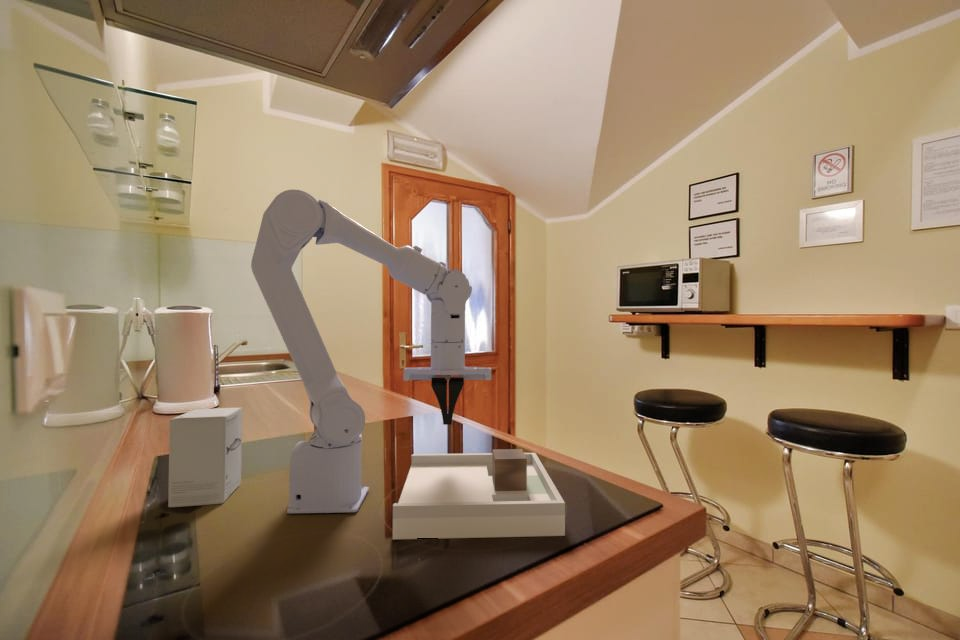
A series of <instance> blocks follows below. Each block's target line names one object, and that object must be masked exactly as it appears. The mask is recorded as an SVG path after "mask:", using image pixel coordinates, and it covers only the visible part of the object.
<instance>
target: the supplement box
mask: <svg viewBox="0 0 960 640" xmlns="http://www.w3.org/2000/svg"><path fill="white" fill-rule="evenodd" d="M242 425H243V407H217V408H215V407H213V408H199V409H192V410H190V411H187V412H185V413H183V414H180V415H178V416H175V417H173V418H170V419H169V442H168V443H169V447H168V449H169V450H168V451H169V453H168V491H167V493H168V496H167V497H168V498H167V499H168V500H167V502H168V504H167V508H182V507H194V506H196V507H197V506H207V505H220V504H224V503H225V502H226V500H227V499H228V498H229V497H230V496H231V495H232V493H234V491H235V490H237V488H239V487H240V486H241V484H242V450H243V449H242V447H243V445H242V444H243V443H242V440H243V439H242V438H243V437H242V436H243V435H242V434H243V433H242V431H243V430H242V429H243V428H242V427H243V426H242Z"/></svg>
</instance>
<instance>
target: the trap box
mask: <svg viewBox="0 0 960 640" xmlns="http://www.w3.org/2000/svg"><path fill="white" fill-rule="evenodd" d="M524 454H525V456H526V458H527V491H495V489H494V485H493V480H492V452H480V453H478V452H477V453H476V452H475V453H468V452H467V453H418V454H417V453H413V454H411V465H410V468H409V470H408V474H407V476H406V480H405V483H404V485H403V488H402V490H401V493H400V497H399V499H398V502H395V503H393V504H392V540H418V539H417V538H438V539H471V538H472V539H473V538H478V539H479V538H484V539H485V538H517V537H518V538H520V537H525V538H526V537H563V536H564V537H565V536H566V502H565V500H564V499H563V497H562V496H561V494H560V492H559V490H558V488H557V487H556V485H555V483H554V482H553V480H552V478H551V477H550V475H549V474H548V471H547V470H546V468H545V467H544V465H543V463H542V462H541V460H540V458H539V456H538V455H537V453H536V452H524Z"/></svg>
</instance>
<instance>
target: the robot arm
mask: <svg viewBox="0 0 960 640" xmlns="http://www.w3.org/2000/svg"><path fill="white" fill-rule="evenodd" d="M313 238H316V240H315V245H317V246H318V245H327V244H329V245H330V244H339V245H342V246H344V247H346V248H348V249H351V250H353V251H354V252H356V253H359V254H361V255H363V256H364V257H366V258H369V259H371V260H373V261H376V262H378V263H380V264H382V265H383V266H386V268H387V272H388V273H389V275H390V277H391V278H392V279H393V280H396V281H397V282H399V283H401V284H403V285H405V286H407V287H409V288H411V289H413V290H415V291H417V292H418V293H420V294H423V295H425V296H426V298H427V300H428V301H429V302H430V308H431V309H430V312H431V313H430V366H422V367H419V366H418V367H405V368H403V381H406V382H407V381H430V380H431V384H430V385H431V388H432V390H433V392H434V396H435V397H436V400H437V403H438V406H439V408H440V413H441V415H442V425H445V426H448V425H453V423H452V422H453V415H454V411H455V407H456V404H457V402H458V398H459V396H460V394H461V391H462V390H463V387H464V382H465V380H466V381H468V380H470V381H471V380H473V381H474V380H476V381H477V380H483V381H492V368H491V367H481V366H480V367H476V366H475V367H473V366H466V364H465V363H466V359H465V355H466V305H467V304H466V303H467V301H468V300H469V299H470V297H471V294H472V291H473V287H472V286H471V285H470V282H469V279H468V278H467V276H466V275H465V273H463V272H462V271H461V270H458V269H447V264H446V263H445V262H442V261H440V262H438V261H436V260H435V259H433V258H430V257H429V256H427V255H426V254H424V253H422V251H423V248H421V247H419V246H417V245H414V246H413V247H412V246H410V245H403V246H400V247H396V246H394V245H393V244H392V243H390V242H389V241H386V240H385V239H383V238H382V237H380V236H379V235H377V234H375V233H374V232H372V231H371V230H369V229H367V228H366V227H364V226H363V225H361V224H360V223H358V222H357V221H355V220H354V219H352V218H350V217H348V216H347V215H345V214H344V213H342V212H341V211H340V210H338V209H336V208H335V207H334V206H333V205H331V204H330V203H329V202H327V201H325V200H324V201H323V200H322V199H318V201H317V199H316V198H315V197H314V196H313V195H311V194H310V193H309V192H306V191H305V190H300V189H287V190H284V191H282V192H280V193H279V194H277V195H276V196H275V197H274V198H273V200H272V201H271V203H270V204H269V205H268V206H267V208H266V210H265V211H264V212H263V214H262V218H261V221H260V226H259V231H258V234H257V238H256V242H255V245H254V250H253V253H252V258H251V263H250V264H251V265H250V268H251V272H252V274H253V276H254V279H255V281H256V283H257V285H258V287H259V290H260V292H261V294H262V296H263V298H264V300H265V303H266V305H267V307H268V309H269V312H270V314H271V315H272V318H273V320H274V323H275V325H276V327H277V329H278V331H279V334H280V336H281V337H282V340H283V343H284V345H285V347H286V349H287V351H288V353H289V355H290V358H291V360H292V363H293V364H294V366H295V369H296V371H297V374H298V375H299V377H300V379H301V382H302V384H303V387H304V390H305V392H306V395H307V397H308V401H309V418H310V421H311V423H312V424H313V426H314V425H315V426H316V427H317V429H316V430H315V431H314V430H313V433H312V435H311V436H310V437H309V440H302V441H301V440H300V441H298V442H297V443H296V444H295V446H294V447H293V449H292V450H291V451H292V452H291V455H290V460H289V479H288V482H289V485H288V486H289V491H288V493H289V495H288V497H289V500H288V501H289V503H288V508H287V509H286V513H287V514H329V513H330V514H331V513H335V514H337V513H339V514H340V513H357V512H358V510H359V509H360V507H361V506H362V503H363V502H364V500H365V498H366V496H367V495H368V492H369V490H370V487H369V486H363V485H362V481H363V480H362V478H363V477H362V476H363V475H362V473H363V472H362V470H363V469H362V467H363V465H362V464H363V463H362V461H363V459H362V457H363V456H362V455H363V452H362V451H363V442H362V441H363V436H362V432H363V430H364V428H365V425H366V415H365V411H364V409H363V407H362V405H360V404H359V403H358V402H356V401H355V400H354V399H353V398H352V397H351V396H350V395H349V394H350V393H348V390H347V388H346V386H345V384H344V383H343V381H342V380H341V377H340V376H339V375H338V372H337V370H336V367H335V366H334V364H333V362H332V359H331V357H330V354H329V353H328V350H327V347H326V345H325V344H324V341H323V339H322V336H321V334H320V332H319V330H318V327H317V325H316V322H315V320H314V319H313V316H312V314H311V311H310V309H309V307H308V306H309V305H308V304H307V302H306V300H305V298H304V295H303V293H302V290H301V288H300V287H299V284H298V281H297V279H296V277H295V274H294V272H293V270H292V268H293V266H294V264H295V262H296V260H297V258H298V256H299V254H300V253H301V251H302V249H304V247H306V246H307V245H309V243H310V241H311V240H312V239H313Z"/></svg>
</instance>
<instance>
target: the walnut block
mask: <svg viewBox="0 0 960 640" xmlns="http://www.w3.org/2000/svg"><path fill="white" fill-rule="evenodd" d="M491 453H492V480H493V485H494V489H495V491H527V458H526V456H525V454H524V453H525V452H524V451H523V449H522V448H514V449H513V448H511V449H510V448H507V449H506V448H505V449H504V448H502V449H500V448H499V449H497V448H496V449H495V448H494V449H492V452H491Z"/></svg>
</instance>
